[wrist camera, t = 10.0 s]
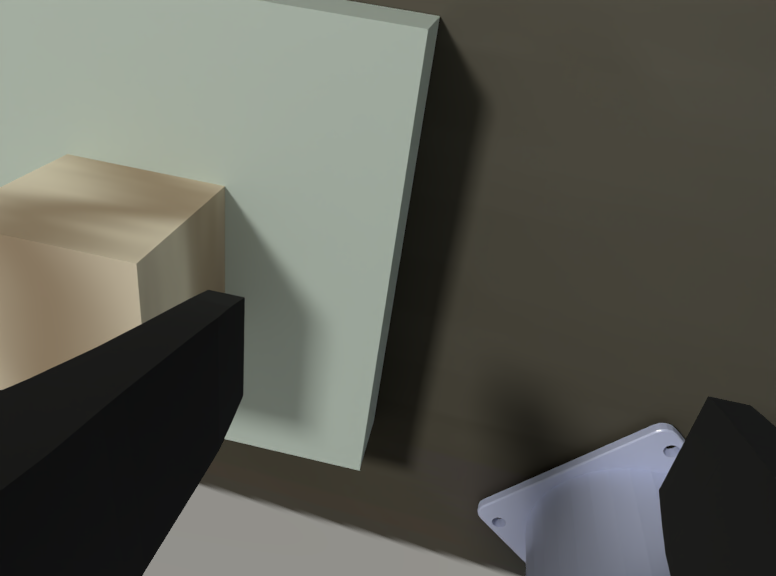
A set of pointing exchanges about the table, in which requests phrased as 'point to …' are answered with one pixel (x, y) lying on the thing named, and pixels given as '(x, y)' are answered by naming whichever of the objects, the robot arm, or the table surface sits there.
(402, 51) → the base board
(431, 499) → the table surface
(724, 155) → the table surface
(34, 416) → the robot arm
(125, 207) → the maple block
